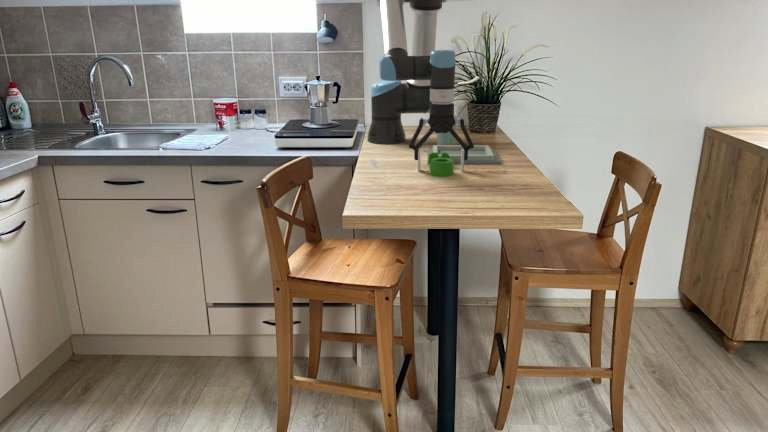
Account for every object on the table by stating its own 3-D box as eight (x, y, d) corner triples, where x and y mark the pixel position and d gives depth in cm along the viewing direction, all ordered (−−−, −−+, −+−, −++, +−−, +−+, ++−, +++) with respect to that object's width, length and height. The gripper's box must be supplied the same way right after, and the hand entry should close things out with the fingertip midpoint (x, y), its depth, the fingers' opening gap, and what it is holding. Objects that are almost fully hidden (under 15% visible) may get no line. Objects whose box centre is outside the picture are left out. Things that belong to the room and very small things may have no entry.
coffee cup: (456, 145, 223) (457, 113, 219) (457, 149, 215) (458, 117, 211) (434, 144, 224) (434, 113, 220) (434, 149, 216) (434, 116, 212)
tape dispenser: (454, 177, 178) (454, 162, 177) (431, 177, 178) (431, 163, 177) (449, 166, 192) (449, 152, 191) (427, 166, 192) (427, 152, 191)
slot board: (427, 163, 194) (427, 156, 193) (427, 151, 213) (427, 144, 212) (500, 164, 193) (500, 156, 192) (493, 151, 211) (493, 144, 211)
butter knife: (376, 158, 201) (368, 158, 201) (389, 179, 176) (379, 179, 176) (376, 160, 201) (368, 160, 201) (389, 181, 176) (379, 181, 176)
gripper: (400, 104, 176) (400, 172, 182) (484, 104, 174) (481, 173, 181) (401, 101, 183) (401, 167, 189) (481, 100, 181) (479, 167, 188)
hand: (440, 170), depth 185 cm, fingers open, 13 cm apart
